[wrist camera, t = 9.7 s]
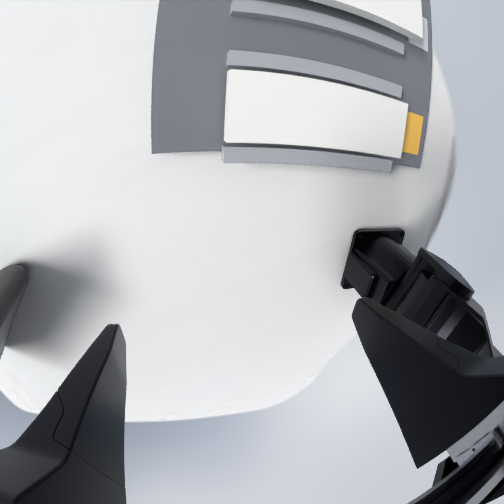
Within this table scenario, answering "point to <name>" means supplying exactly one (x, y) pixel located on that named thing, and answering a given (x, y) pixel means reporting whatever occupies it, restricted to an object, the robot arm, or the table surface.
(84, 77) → the table surface
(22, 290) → the leaning round-cornered charcoal block
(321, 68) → the switch panel
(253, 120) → the key
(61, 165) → the table surface
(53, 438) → the robot arm
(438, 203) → the table surface
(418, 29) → the key middle
